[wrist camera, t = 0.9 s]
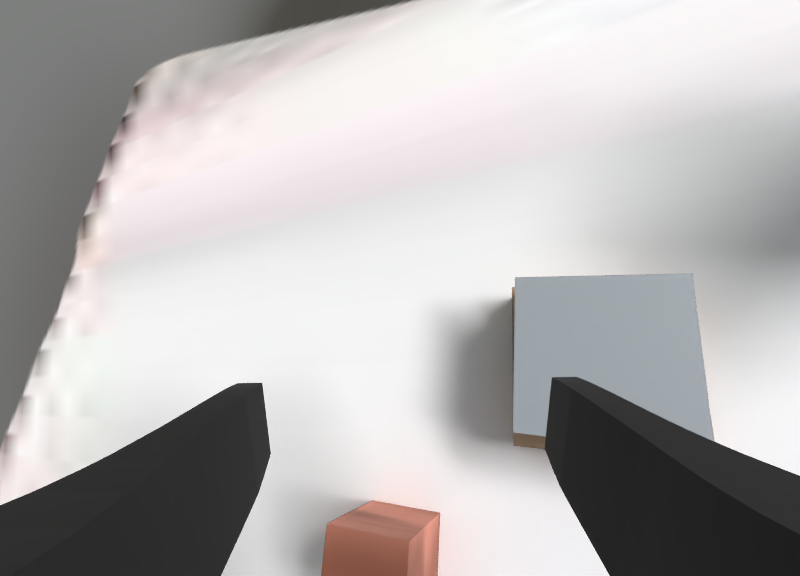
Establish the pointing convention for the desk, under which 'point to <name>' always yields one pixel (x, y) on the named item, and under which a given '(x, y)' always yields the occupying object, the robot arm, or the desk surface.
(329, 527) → the red block
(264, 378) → the desk surface
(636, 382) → the grey slab
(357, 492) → the desk surface
